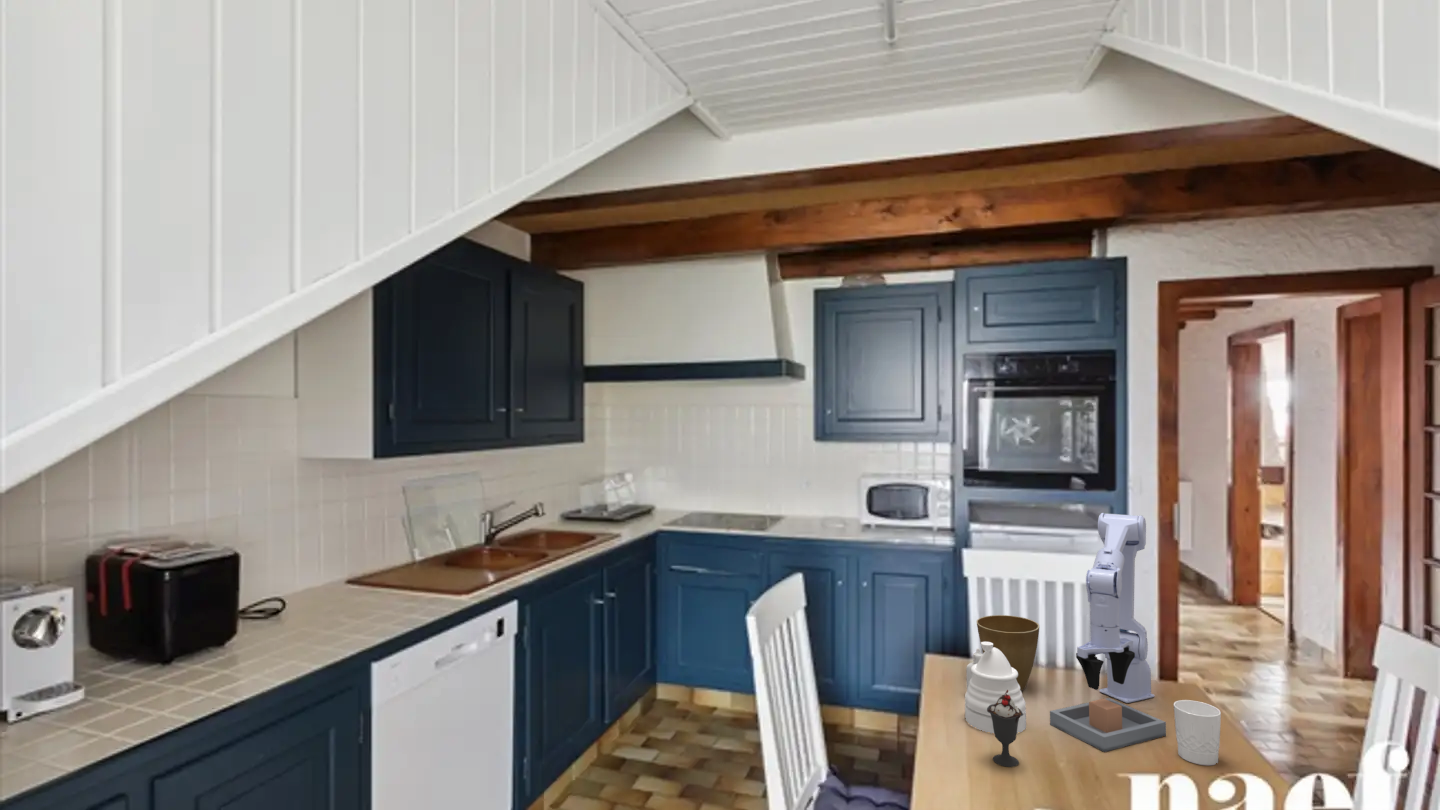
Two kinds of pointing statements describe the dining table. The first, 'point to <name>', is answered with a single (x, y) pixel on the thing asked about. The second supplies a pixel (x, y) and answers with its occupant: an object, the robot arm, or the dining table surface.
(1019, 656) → the plant pot
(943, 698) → the dining table surface
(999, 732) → the sundae
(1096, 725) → the block
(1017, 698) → the honey pot
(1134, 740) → the tray
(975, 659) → the eye dropper bottle
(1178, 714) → the white cup
